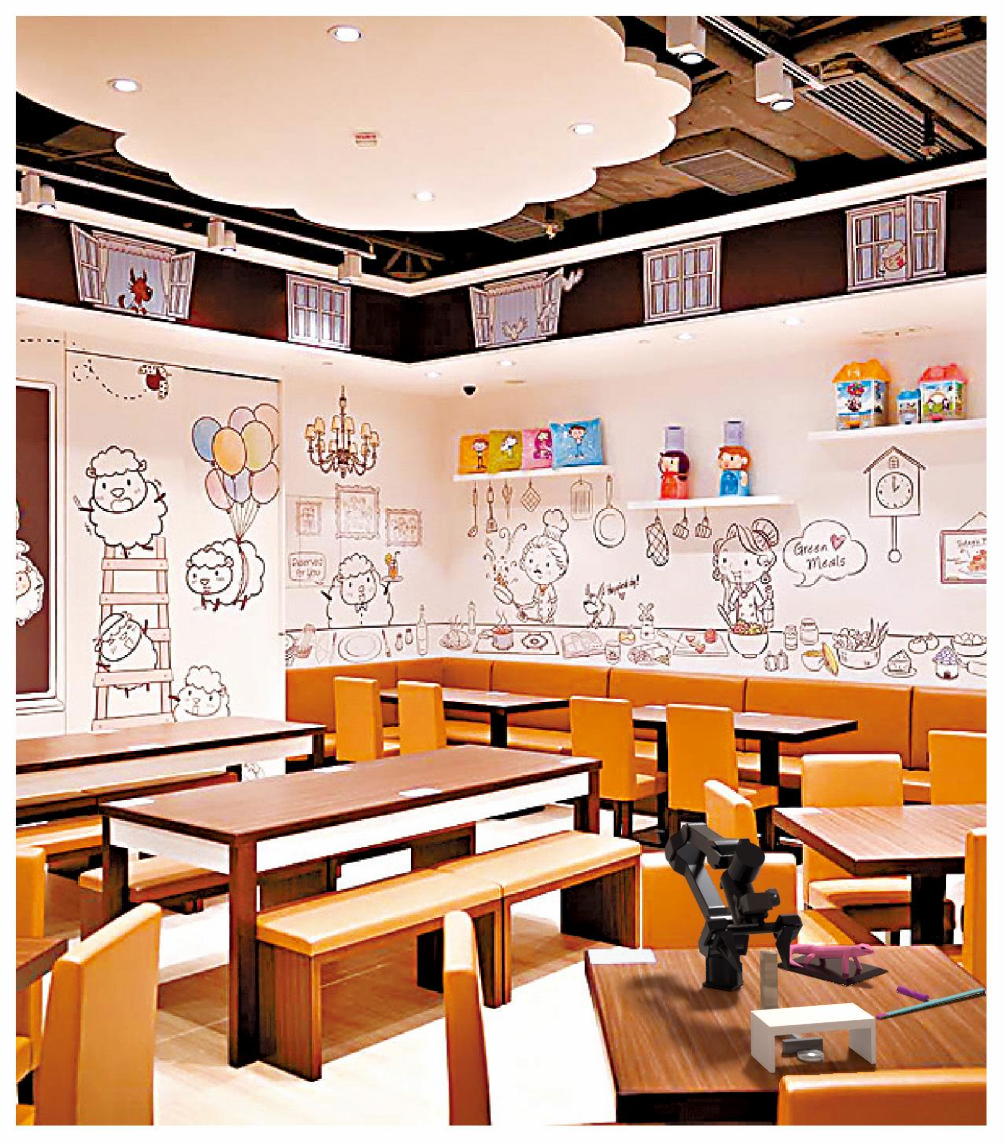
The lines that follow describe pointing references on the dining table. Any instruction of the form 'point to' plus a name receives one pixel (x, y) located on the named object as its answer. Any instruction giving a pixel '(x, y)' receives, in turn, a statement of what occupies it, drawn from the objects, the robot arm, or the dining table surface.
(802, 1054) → the steel token
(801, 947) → the lizard figurine
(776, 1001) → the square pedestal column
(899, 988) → the squeegee
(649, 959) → the dining table surface
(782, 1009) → the white footstool bench
